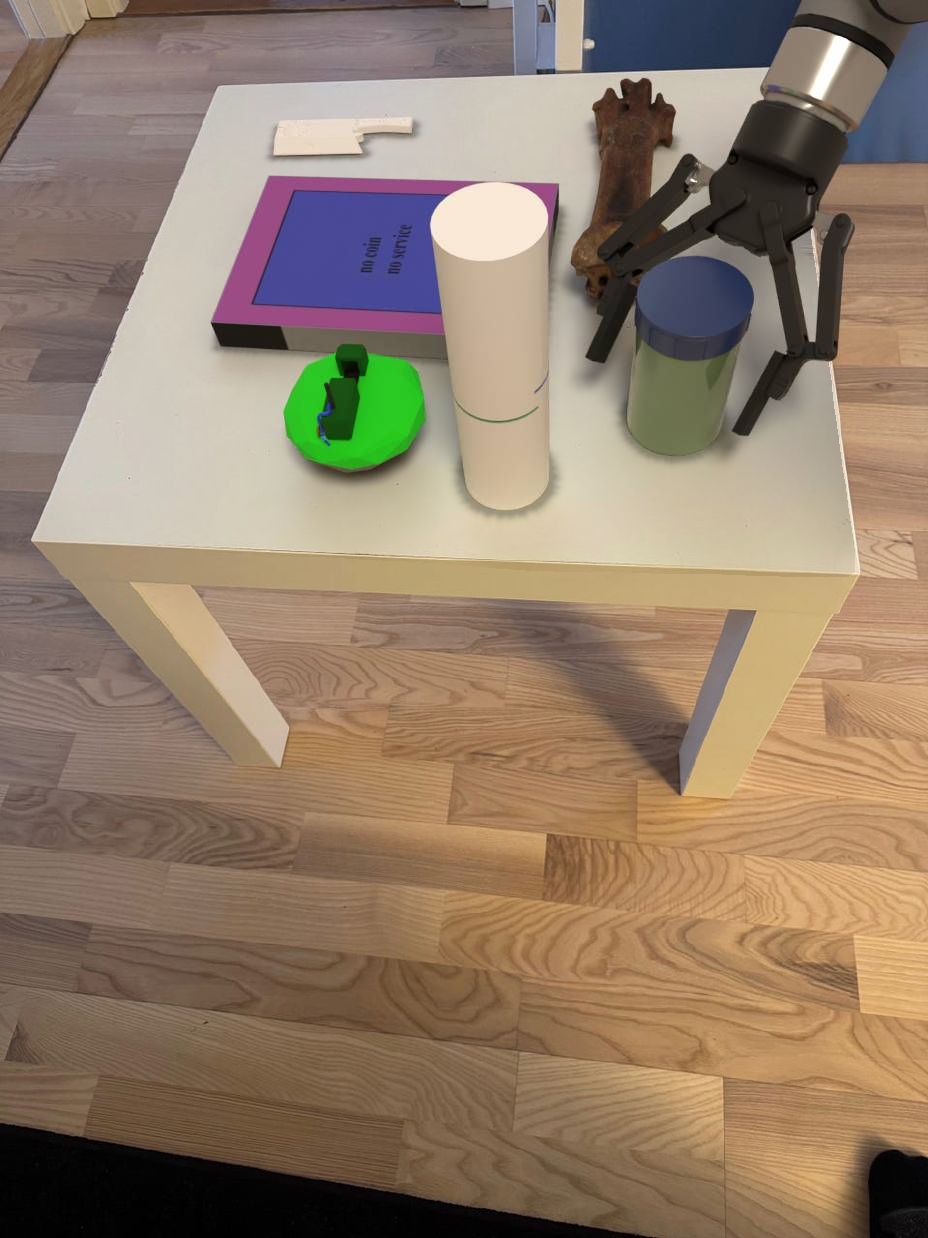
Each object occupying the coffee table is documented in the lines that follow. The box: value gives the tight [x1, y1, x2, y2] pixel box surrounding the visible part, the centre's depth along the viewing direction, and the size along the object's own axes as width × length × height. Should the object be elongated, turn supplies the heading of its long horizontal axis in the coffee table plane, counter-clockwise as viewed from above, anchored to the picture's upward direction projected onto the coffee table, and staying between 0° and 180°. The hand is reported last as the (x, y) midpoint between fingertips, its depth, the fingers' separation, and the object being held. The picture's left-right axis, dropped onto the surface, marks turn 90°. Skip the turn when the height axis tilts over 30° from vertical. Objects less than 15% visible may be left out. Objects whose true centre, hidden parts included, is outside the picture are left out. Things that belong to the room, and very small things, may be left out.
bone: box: [570, 77, 677, 300], centre depth 89 cm, size 9×8×30 cm
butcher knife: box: [273, 116, 414, 156], centre depth 101 cm, size 5×15×1 cm, turn 84°
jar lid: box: [633, 255, 755, 360], centre depth 68 cm, size 8×8×2 cm
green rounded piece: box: [282, 344, 426, 474], centre depth 76 cm, size 12×12×11 cm
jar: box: [626, 328, 743, 457], centre depth 73 cm, size 8×8×13 cm
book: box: [210, 175, 560, 360], centre depth 89 cm, size 21×3×30 cm
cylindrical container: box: [430, 181, 550, 511], centre depth 66 cm, size 7×7×25 cm
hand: (664, 396), depth 74 cm, fingers open, 13 cm apart
